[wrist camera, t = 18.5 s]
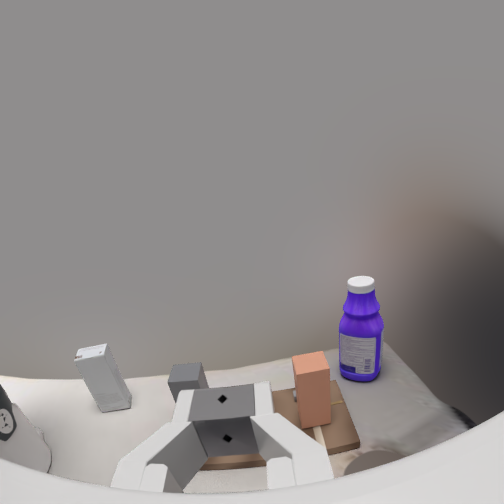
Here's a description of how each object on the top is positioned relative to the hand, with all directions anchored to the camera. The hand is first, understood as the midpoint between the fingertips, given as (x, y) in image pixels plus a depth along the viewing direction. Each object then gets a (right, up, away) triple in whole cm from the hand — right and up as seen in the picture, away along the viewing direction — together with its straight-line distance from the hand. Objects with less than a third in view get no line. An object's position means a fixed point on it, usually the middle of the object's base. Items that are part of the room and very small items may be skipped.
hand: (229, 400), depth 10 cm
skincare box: (-24, -23, +39) cm, 51 cm away
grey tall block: (-6, -20, +31) cm, 38 cm away
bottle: (+19, -16, +39) cm, 46 cm away
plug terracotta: (+9, -18, +29) cm, 36 cm away
